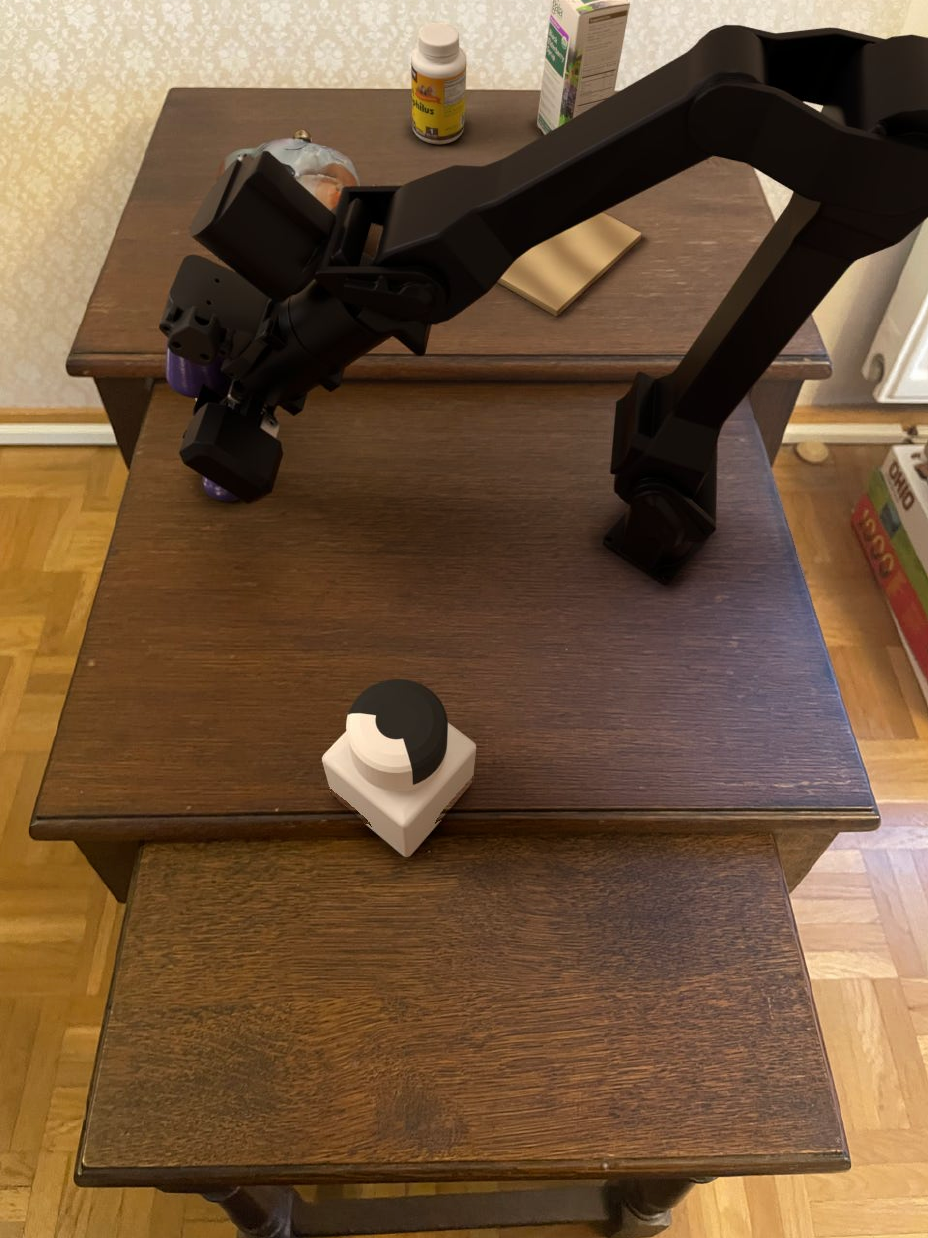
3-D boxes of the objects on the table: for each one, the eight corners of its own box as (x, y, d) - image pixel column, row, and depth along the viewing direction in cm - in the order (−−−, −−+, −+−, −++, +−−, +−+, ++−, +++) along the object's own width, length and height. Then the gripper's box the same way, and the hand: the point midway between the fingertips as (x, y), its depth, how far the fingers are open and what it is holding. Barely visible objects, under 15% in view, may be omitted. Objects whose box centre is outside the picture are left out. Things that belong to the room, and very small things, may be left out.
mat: (556, 316, 90) (557, 310, 90) (440, 249, 95) (440, 242, 94) (640, 239, 96) (642, 233, 95) (527, 179, 100) (528, 172, 99)
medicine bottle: (397, 722, 70) (391, 643, 59) (474, 783, 68) (482, 712, 57) (329, 795, 67) (310, 726, 57) (407, 861, 65) (402, 802, 55)
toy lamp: (266, 464, 81) (229, 310, 66) (255, 509, 79) (213, 360, 64) (209, 458, 81) (160, 304, 67) (196, 503, 79) (142, 353, 64)
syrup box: (534, 125, 104) (548, -19, 92) (582, 112, 106) (603, -31, 93) (559, 156, 102) (577, 13, 89) (608, 142, 103) (633, 0, 91)
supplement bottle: (402, 125, 104) (399, 27, 95) (445, 108, 105) (446, 10, 97) (430, 153, 102) (430, 56, 93) (474, 135, 103) (478, 38, 94)
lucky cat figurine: (373, 185, 99) (406, 106, 85) (358, 298, 97) (389, 236, 84) (222, 144, 94) (232, 55, 81) (205, 262, 93) (212, 190, 80)
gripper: (259, 147, 63) (139, 265, 73) (177, 357, 54) (53, 458, 64) (384, 260, 70) (258, 354, 80) (330, 464, 60) (195, 541, 71)
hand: (195, 419), depth 73 cm, fingers closed on toy lamp, 3 cm apart
